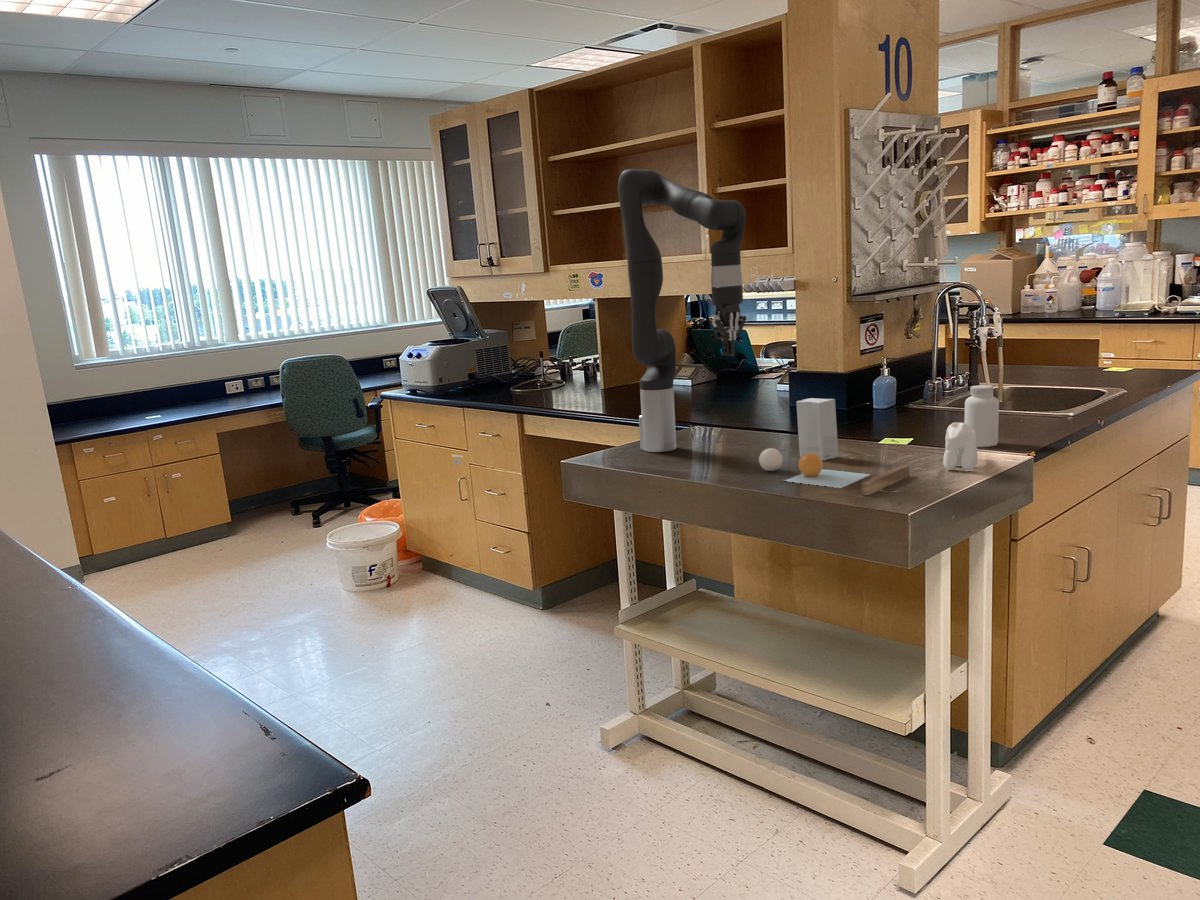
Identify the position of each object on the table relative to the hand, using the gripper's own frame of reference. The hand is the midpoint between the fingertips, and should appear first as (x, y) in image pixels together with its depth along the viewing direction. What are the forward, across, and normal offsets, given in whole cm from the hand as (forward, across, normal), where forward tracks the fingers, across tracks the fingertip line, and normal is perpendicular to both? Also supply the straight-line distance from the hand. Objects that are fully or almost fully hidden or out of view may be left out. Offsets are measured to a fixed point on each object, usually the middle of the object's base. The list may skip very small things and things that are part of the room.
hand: (729, 355), depth 215 cm
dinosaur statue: (+27, -19, +51) cm, 60 cm away
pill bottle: (+27, -45, +45) cm, 69 cm away
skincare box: (+27, -14, +16) cm, 35 cm away
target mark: (+27, +5, +29) cm, 40 cm away
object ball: (+24, +5, +25) cm, 35 cm away
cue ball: (+24, +4, +14) cm, 28 cm away
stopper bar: (+27, +5, +43) cm, 51 cm away
